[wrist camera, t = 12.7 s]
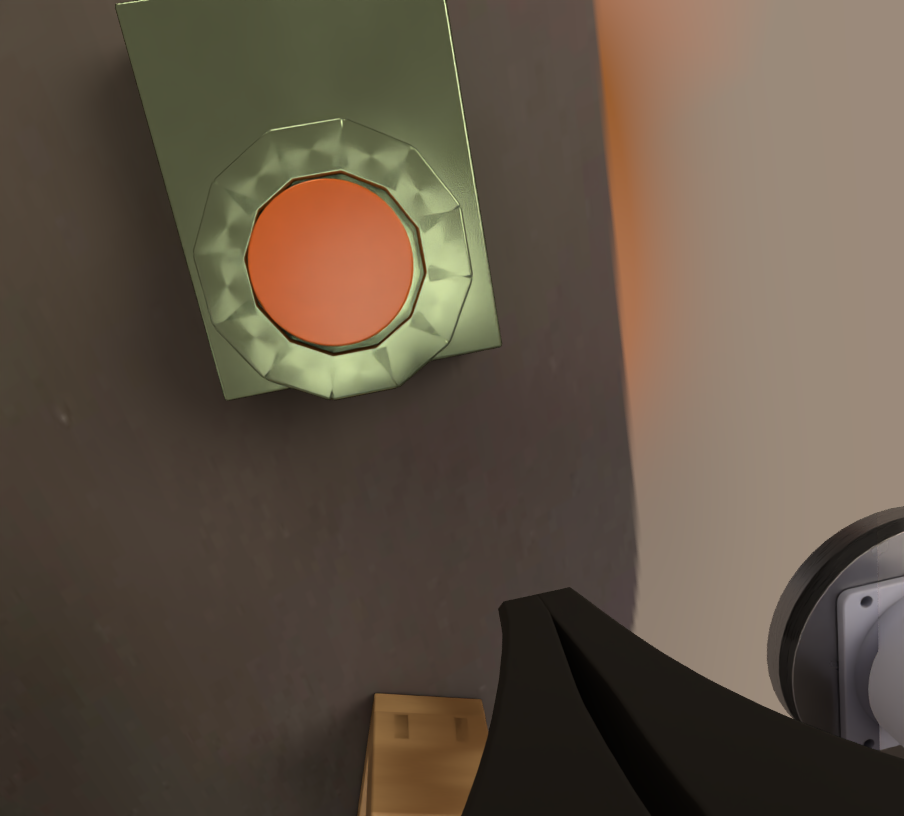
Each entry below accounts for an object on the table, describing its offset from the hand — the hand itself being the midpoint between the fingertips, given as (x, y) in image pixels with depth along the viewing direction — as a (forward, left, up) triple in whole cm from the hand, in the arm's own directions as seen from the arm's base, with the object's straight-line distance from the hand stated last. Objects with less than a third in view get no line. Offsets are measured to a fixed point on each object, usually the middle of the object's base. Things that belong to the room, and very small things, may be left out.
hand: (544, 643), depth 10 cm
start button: (+3, -7, -6) cm, 10 cm away
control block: (+3, -9, -10) cm, 14 cm away
